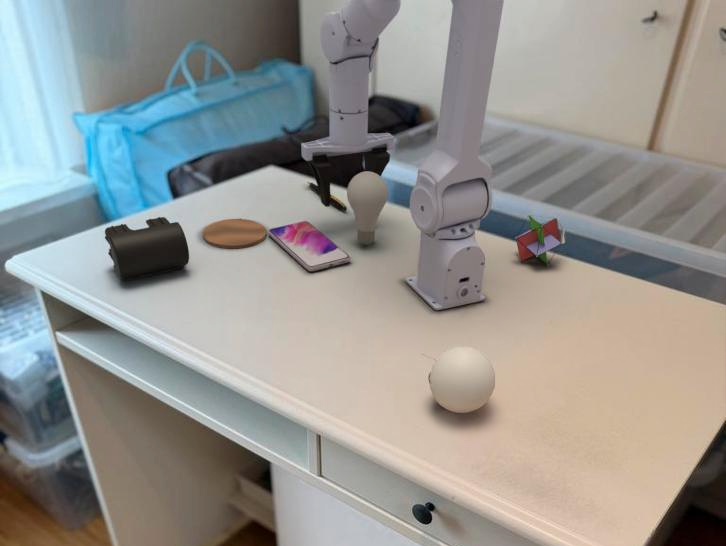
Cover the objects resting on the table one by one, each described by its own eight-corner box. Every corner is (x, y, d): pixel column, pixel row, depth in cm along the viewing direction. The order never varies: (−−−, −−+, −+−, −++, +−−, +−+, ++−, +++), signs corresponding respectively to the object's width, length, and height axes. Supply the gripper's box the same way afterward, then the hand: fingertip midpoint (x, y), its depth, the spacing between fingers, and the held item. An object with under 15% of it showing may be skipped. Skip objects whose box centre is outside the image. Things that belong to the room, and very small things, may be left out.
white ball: (504, 413, 81) (515, 358, 76) (451, 434, 78) (459, 378, 73) (451, 370, 87) (458, 316, 82) (401, 387, 84) (405, 333, 79)
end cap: (124, 290, 100) (114, 244, 95) (109, 269, 104) (99, 224, 100) (192, 275, 104) (186, 229, 99) (176, 255, 108) (169, 211, 103)
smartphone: (309, 268, 104) (266, 229, 114) (309, 273, 105) (266, 234, 114) (352, 257, 107) (307, 220, 116) (352, 262, 107) (307, 225, 117)
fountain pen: (304, 185, 130) (303, 177, 129) (309, 184, 130) (309, 176, 129) (343, 214, 121) (343, 205, 120) (349, 213, 121) (349, 204, 120)
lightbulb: (368, 233, 116) (370, 162, 108) (393, 246, 112) (397, 174, 105) (338, 242, 113) (338, 170, 105) (363, 256, 109) (365, 183, 102)
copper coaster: (275, 242, 112) (275, 239, 112) (212, 252, 109) (212, 249, 109) (255, 218, 119) (254, 215, 119) (195, 227, 116) (195, 224, 115)
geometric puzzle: (516, 260, 105) (554, 214, 102) (495, 241, 110) (531, 196, 106) (545, 283, 109) (582, 239, 106) (523, 263, 114) (559, 220, 111)
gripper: (381, 96, 110) (377, 185, 120) (292, 105, 106) (296, 197, 115) (402, 109, 106) (396, 201, 115) (310, 119, 101) (312, 214, 110)
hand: (347, 200), depth 115 cm, fingers open, 7 cm apart
